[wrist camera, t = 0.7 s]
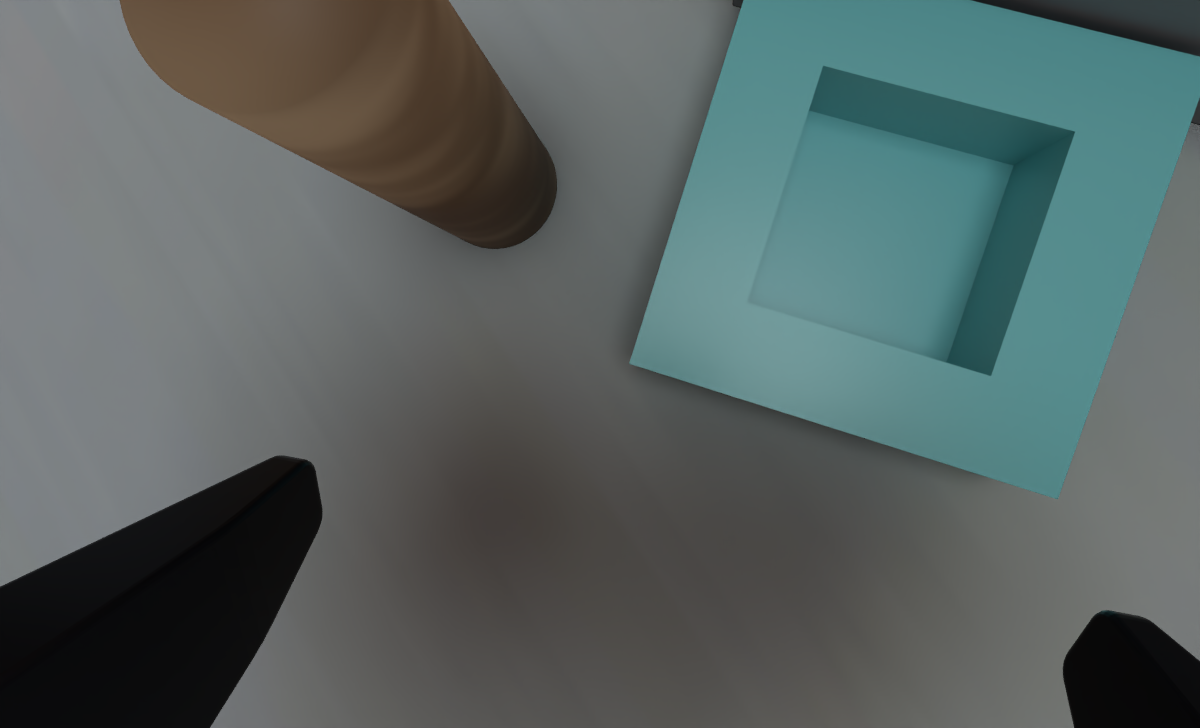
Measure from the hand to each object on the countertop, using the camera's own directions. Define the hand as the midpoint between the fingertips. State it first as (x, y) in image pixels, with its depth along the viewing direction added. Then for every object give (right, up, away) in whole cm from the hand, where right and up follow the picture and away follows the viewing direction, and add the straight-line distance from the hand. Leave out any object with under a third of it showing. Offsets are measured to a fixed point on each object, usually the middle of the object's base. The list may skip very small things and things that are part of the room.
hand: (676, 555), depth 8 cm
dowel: (-4, +8, +14) cm, 17 cm away
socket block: (+7, +6, +13) cm, 16 cm away
